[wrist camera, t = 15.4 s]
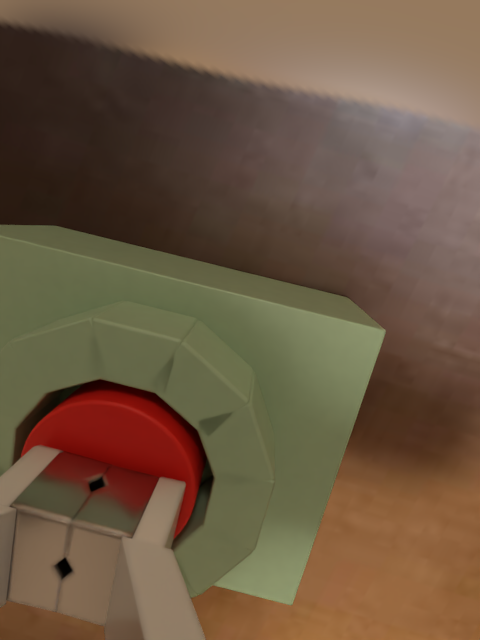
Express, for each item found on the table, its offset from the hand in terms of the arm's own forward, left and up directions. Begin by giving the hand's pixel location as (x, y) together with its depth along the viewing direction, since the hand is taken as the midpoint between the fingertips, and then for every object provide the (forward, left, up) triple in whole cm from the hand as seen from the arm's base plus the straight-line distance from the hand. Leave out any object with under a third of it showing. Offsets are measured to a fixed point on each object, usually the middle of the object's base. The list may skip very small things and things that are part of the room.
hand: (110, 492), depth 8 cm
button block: (0, 0, -6) cm, 6 cm away
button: (0, 0, -2) cm, 2 cm away
